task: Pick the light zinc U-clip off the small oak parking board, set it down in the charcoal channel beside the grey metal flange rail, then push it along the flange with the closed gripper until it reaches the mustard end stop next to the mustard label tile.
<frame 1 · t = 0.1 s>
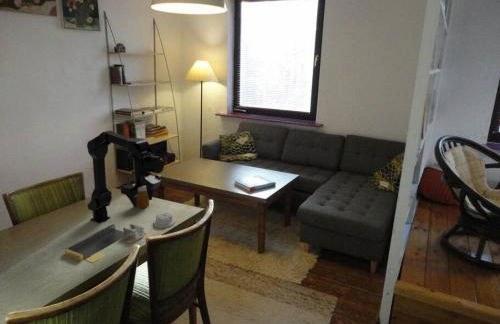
hand: (143, 203, 152), 14 cm above the table, fingers open, 9 cm apart
flange rail: (92, 240, 149), on the table
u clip: (134, 236, 153), resting on parking board, touching flange rail
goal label: (95, 257, 137), on the table
parking board: (134, 237, 153), on the table
disposable coffee cup: (142, 206, 185), on the table
mechanical component: (164, 224, 167), on the table
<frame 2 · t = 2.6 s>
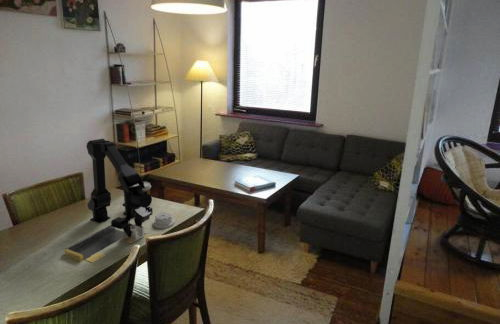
hand: (134, 234, 153), 1 cm above the table, fingers closed on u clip, 5 cm apart
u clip: (134, 236, 153), resting on parking board, touching flange rail, gripper
when the fingers open (2 cm above the table, at t = 6.8 s): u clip drops 1 cm, resting on flange rail.
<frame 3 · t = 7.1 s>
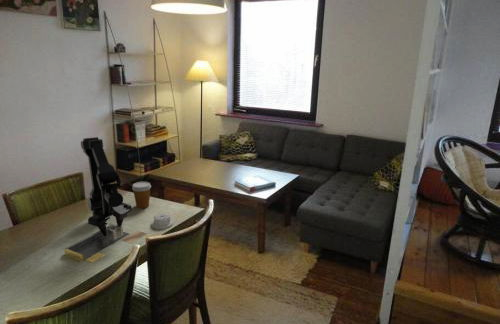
hand: (112, 232, 152), 2 cm above the table, fingers open, 8 cm apart
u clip: (112, 236, 153), resting on flange rail
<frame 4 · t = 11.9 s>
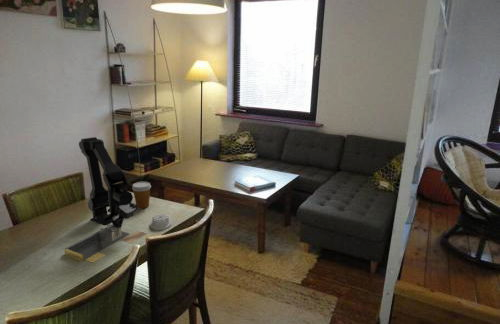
hand: (118, 230, 155), 1 cm above the table, fingers closed
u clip: (111, 237, 152), resting on flange rail, touching gripper
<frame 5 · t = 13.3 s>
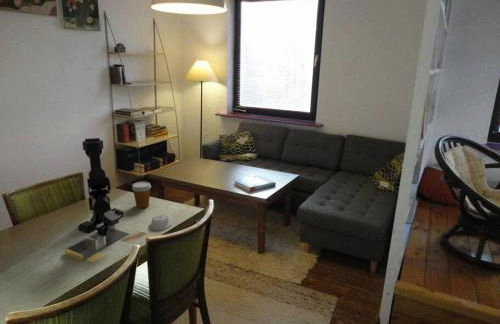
hand: (103, 238, 148), 2 cm above the table, fingers closed
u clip: (95, 246, 145), resting on flange rail, touching gripper
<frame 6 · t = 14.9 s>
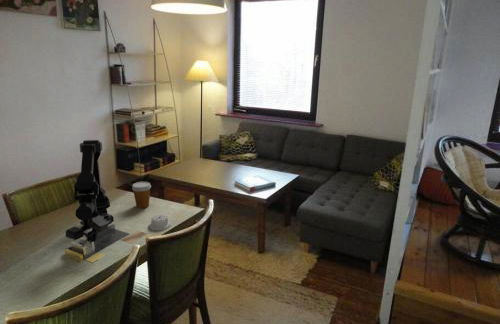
hand: (92, 244, 143), 1 cm above the table, fingers closed
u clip: (83, 252, 140), resting on flange rail, touching gripper
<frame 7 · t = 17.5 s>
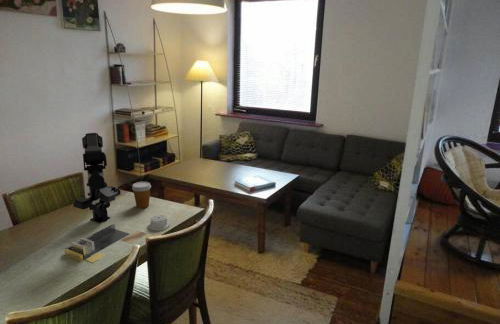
hand: (99, 216, 145), 12 cm above the table, fingers closed
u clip: (83, 252, 140), resting on flange rail
at the end: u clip 0.4 cm from the target spot, resting on flange rail; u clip tilted 0° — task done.
